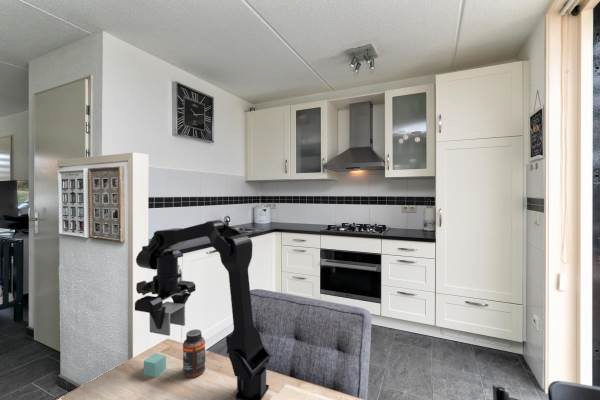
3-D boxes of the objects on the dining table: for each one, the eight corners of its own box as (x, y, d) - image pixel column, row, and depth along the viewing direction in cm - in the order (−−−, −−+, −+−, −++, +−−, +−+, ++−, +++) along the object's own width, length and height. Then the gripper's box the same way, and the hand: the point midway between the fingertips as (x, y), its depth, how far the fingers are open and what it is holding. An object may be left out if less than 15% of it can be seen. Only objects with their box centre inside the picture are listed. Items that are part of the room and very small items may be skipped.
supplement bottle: (209, 366, 85) (208, 327, 84) (200, 379, 79) (199, 338, 78) (189, 364, 85) (189, 326, 85) (179, 377, 79) (178, 337, 79)
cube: (166, 369, 83) (166, 355, 83) (155, 377, 79) (155, 363, 79) (155, 366, 85) (155, 353, 84) (143, 374, 81) (143, 360, 81)
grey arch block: (185, 325, 89) (185, 304, 89) (169, 335, 82) (168, 313, 82) (166, 322, 91) (166, 301, 91) (149, 332, 84) (149, 310, 84)
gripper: (168, 262, 97) (168, 308, 98) (118, 278, 79) (119, 334, 80) (196, 264, 94) (196, 312, 95) (151, 282, 76) (151, 340, 77)
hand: (168, 323), depth 87 cm, fingers closed on grey arch block, 7 cm apart
